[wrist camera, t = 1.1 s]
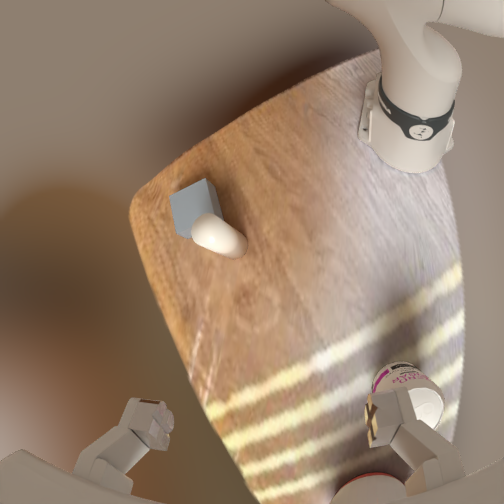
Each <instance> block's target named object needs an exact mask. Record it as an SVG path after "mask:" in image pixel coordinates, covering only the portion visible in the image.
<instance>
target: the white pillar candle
mask: <svg viewBox="0 0 504 504" xmlns="http://www.w3.org/2000/svg"><path fill="white" fill-rule="evenodd" d="M191 235H192V238H193V240H194V241H195V242H196V243H197V244H198V245H200V246H203V247H205V248H207V249H209V250H212V251H214V252H216V253H218V254H220V255H223V256H225V257H227V258H229V259H239V258H241V257H242V256H243V255H244V254H245V253H246V251H247V249H248V241H247V239H246V237H245V236H244V235H243V234H241V233H240V232H239V231H237V230H236V229H234V228H233V227H232V226H230V225H229V224H227V223H226V222H224V221H223V220H222V219H220V218H219V217H217V216H216V215H214V214H212V213H205V214H202V215H201V216H199V217H198V218H197V219H196V220H195V221H194V223H193V225H192V229H191Z"/></svg>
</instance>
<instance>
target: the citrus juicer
mask: <svg viewBox="0 0 504 504" xmlns="http://www.w3.org/2000/svg"><path fill="white" fill-rule="evenodd" d="M406 497H407V496H406V489H405V486H404V484H403V483H402V482H401V481H400V480H399V479H397V478H395V477H394V476H392V475H389V474H386V473H380V472H374V473H367V474H363V475H360V476H358V477H355V478H353V479H352V480H350V481H348V482H347V483H346V484H345V485H344V486H342V487H341V488H340V490H339V491H338V492H337V493H336V494H335V496H334V498H333V499H332V501H331V502H330V504H382V503H387V502H391V501H395V500H399V499H402V498H406Z"/></svg>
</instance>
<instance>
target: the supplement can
mask: <svg viewBox="0 0 504 504" xmlns="http://www.w3.org/2000/svg"><path fill="white" fill-rule="evenodd" d="M404 386H405V387H406V388H407V389H408V392H409V395H410V398H411V401H412V405H413V408H414V411H415V414H416V418H417V420H420V419H421V420H422V421H423V422H424V423H426V424H427V425H428V426H430V427H431V428H432V429H433V430H435V429H436V428H437V426H438V425H439V424H440V421H441V419H442V416H443V412H444V406H445V398H444V396H443V393H442V391H441V389H440V388H439V387H438V386H437V385H436V384H435V383H434V382H433V381H431V380H430V379H429V378H428V377H427V376H426V375H424V374H423V373H422V372H421V371H420V370H419V369H417V368H416V367H415V366H414V365H413V364H411V363H408V362H405V361H395V362H393V363H390V364H387V365H386V366H385V367H383V368H382V369H381V370H380V371H379V372H378V374H377V375H376V377H375V378H374V381H373V385H372V393H375V392H380V391H385V390H389V389H395V388H399V387H404Z"/></svg>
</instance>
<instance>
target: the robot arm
mask: <svg viewBox="0 0 504 504" xmlns="http://www.w3.org/2000/svg"><path fill="white" fill-rule="evenodd" d="M325 1H326V2H328V3H329V4H330V5H332V6H334V7H336V8H338V9H340V10H342V11H344V12H346V13H348V14H350V15H351V16H353V17H354V18H356V19H357V20H358V21H359V22H361V23H362V24H363V25H364V26H365V27H366V28H367V29H368V30H369V31H370V33H371V34H372V35H373V37H374V38H375V40H376V42H377V44H378V46H379V50H380V56H381V65H382V72H380V73H378V74H377V76H376V79H375V80H372V81H370V82H368V83H367V87H366V91H365V99H364V104H363V110H362V115H361V120H360V126H359V131H358V138H359V139H360V140H361V141H362V142H364V143H365V144H367V145H369V146H370V147H371V148H372V149H373V150H374V151H375V152H376V154H377V155H378V156H379V157H380V158H381V159H382V160H383V161H384V162H385V163H387V164H388V165H389V166H391V167H393V168H395V169H397V170H400V171H403V172H407V173H422V172H426V171H428V170H430V169H432V168H434V167H435V166H436V165H437V164H438V163H439V161H440V159H441V157H442V156H443V154H445V153H446V152H448V151H450V150H451V149H452V148H453V145H454V141H453V139H452V136H451V134H452V131H453V127H454V123H455V122H454V119H453V118H452V114H453V111H454V104H455V100H454V98H455V94H456V91H457V88H458V85H459V82H460V79H461V75H462V65H461V60H460V57H459V55H458V54H457V51H456V50H455V49H454V47H453V46H452V45H451V44H450V43H449V42H448V41H447V40H446V39H445V38H444V37H443V36H442V35H441V34H439V33H438V32H436V31H435V30H433V29H432V28H430V27H428V26H427V25H425V24H426V23H427V22H439V23H444V24H448V25H452V26H456V27H461V28H464V29H468V30H471V31H475V32H478V33H482V34H485V35H489V36H496V37H502V38H504V0H325ZM364 129H366V130H367V131H364ZM367 400H368V403H367V404H366V405H365V414H364V415H365V423H366V426H367V427H369V431H368V434H367V435H368V441H369V447H370V448H373V447H379V446H384V445H389V444H390V446H391V447H392V448H393V449H394V450H395V451H396V453H397V454H398V455H399V456H400V457H401V458H402V459H403V460H404V461H405V462H406V463H407V464H408V465H409V466H410V467H411V468H412V469H413V470H414V471H415V472H414V473H413V475H412V476H411V477H410V478H409V479H408V480H407V481H406V482H405V489H406V496H407V497H406V498H402V499H399V500H395V501H391V502H387V503H382V504H504V457H503V458H502V459H500V460H498V461H496V462H494V463H492V464H490V465H489V466H486V467H484V468H482V469H480V470H478V471H476V472H474V473H472V474H470V475H467V476H466V475H465V472H464V468H463V464H462V460H461V457H460V453H459V450H458V449H457V448H456V447H455V446H454V445H452V444H451V443H450V442H449V441H447V440H446V439H445V438H443V437H442V436H441V435H440V434H438V433H437V432H436V431H435V430H433V429H432V428H431V427H430V426H428V425H427V424H426V423H424V422H423V421H422V420H421V419H420V420H417V418H416V414H415V411H414V408H413V405H412V401H411V398H410V395H409V392H408V389H407V388H406V387H405V386H404V387H399V388H395V389H389V390H385V391H380V392H375V393H370V394H368V397H367ZM166 406H167V405H166V404H165V403H164V402H163V401H154V400H145V399H139V398H131V399H130V400H129V401H128V404H127V406H126V408H125V410H124V413H123V415H122V418H121V420H120V422H119V425H118V427H117V426H115V427H113V428H112V429H111V430H109V431H108V432H107V433H105V434H104V435H103V436H102V437H100V438H99V439H98V440H96V441H95V442H94V443H92V444H91V445H90V446H88V447H87V448H85V449H84V450H83V451H81V454H80V456H79V458H78V460H77V463H76V465H75V468H74V470H73V472H72V473H70V472H67V471H65V470H63V469H61V468H59V467H57V466H55V465H53V464H51V463H49V462H47V461H45V460H43V459H41V458H39V457H37V456H35V455H34V454H32V453H30V452H28V451H26V450H23V449H21V450H18V451H16V452H14V453H13V454H11V455H9V456H7V457H5V458H4V459H3V460H1V461H0V504H163V503H158V502H154V501H150V500H146V499H143V498H139V497H135V496H132V495H130V492H131V489H132V486H133V481H132V480H131V479H130V478H128V477H127V476H125V473H126V472H128V471H129V470H130V469H131V468H132V466H134V464H136V463H137V462H138V461H139V460H140V459H141V458H142V457H143V456H144V455H145V454H146V453H147V452H148V451H149V450H150V449H157V450H163V451H167V447H168V444H169V440H170V438H169V435H168V434H169V433H170V432H171V431H172V430H173V426H174V417H173V414H172V413H171V411H169V410H168V409H166ZM149 448H150V449H149Z"/></svg>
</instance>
